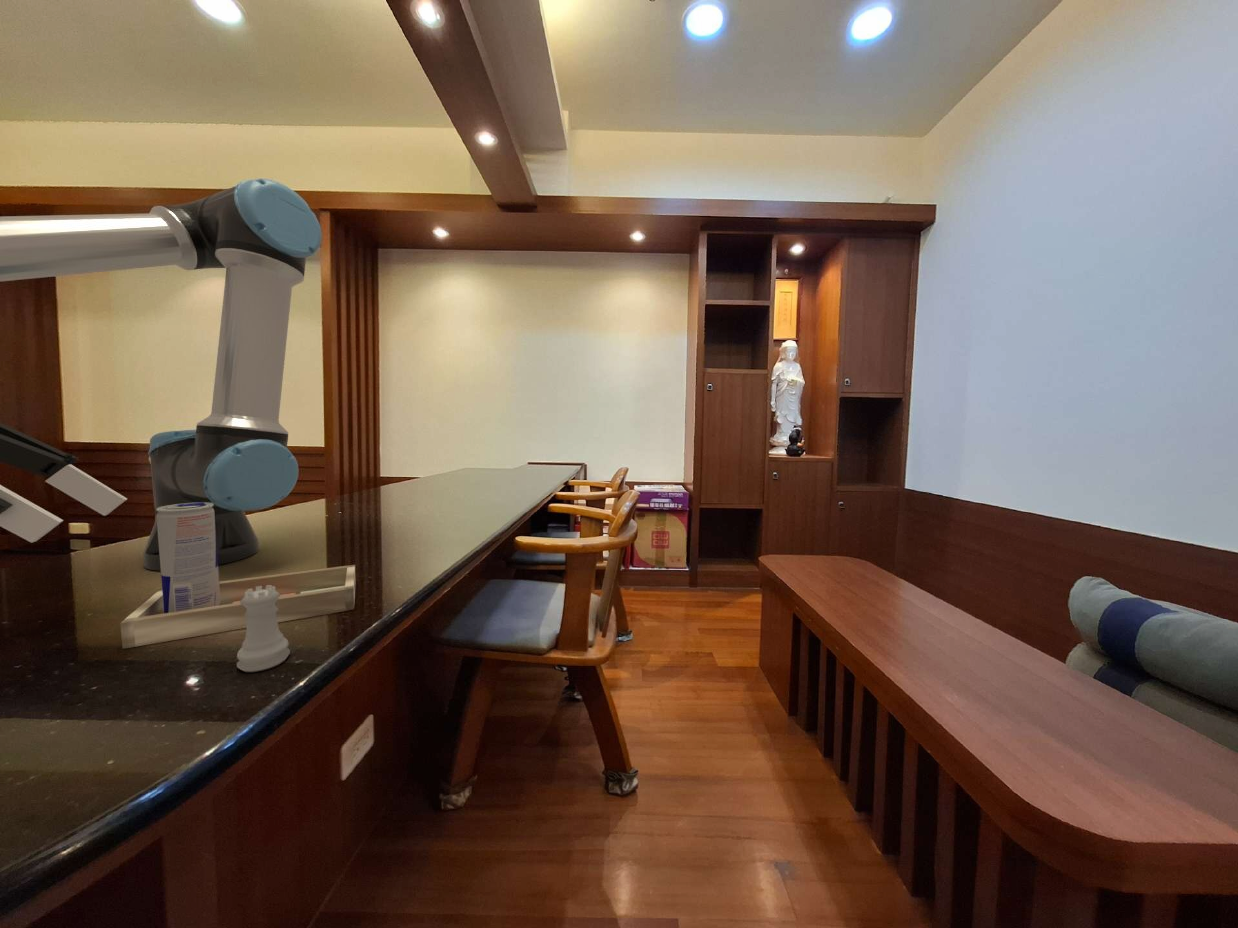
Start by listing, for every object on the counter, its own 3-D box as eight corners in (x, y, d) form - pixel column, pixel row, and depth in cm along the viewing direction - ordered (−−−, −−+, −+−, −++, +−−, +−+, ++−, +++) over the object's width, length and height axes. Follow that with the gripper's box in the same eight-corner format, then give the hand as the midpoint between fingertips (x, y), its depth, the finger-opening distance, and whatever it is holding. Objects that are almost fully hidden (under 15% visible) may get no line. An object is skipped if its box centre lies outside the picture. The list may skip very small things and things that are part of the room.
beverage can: (220, 608, 59) (213, 499, 57) (222, 621, 55) (214, 505, 54) (166, 619, 55) (156, 503, 54) (164, 634, 52) (154, 510, 50)
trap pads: (233, 603, 60) (233, 601, 60) (295, 594, 64) (295, 592, 64) (215, 628, 53) (215, 626, 53) (287, 617, 57) (287, 614, 57)
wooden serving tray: (162, 610, 58) (160, 589, 57) (355, 582, 69) (354, 564, 68) (122, 648, 48) (120, 622, 48) (354, 609, 59) (353, 588, 59)
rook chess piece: (260, 676, 44) (255, 600, 43) (224, 670, 44) (219, 595, 44) (301, 653, 48) (297, 583, 47) (268, 648, 49) (263, 580, 48)
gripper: (-90, 404, 50) (110, 520, 59) (-435, 393, 28) (-38, 579, 37) (-21, 362, 52) (162, 480, 61) (-294, 322, 31) (50, 513, 39)
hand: (86, 518), depth 49 cm, fingers open, 13 cm apart
